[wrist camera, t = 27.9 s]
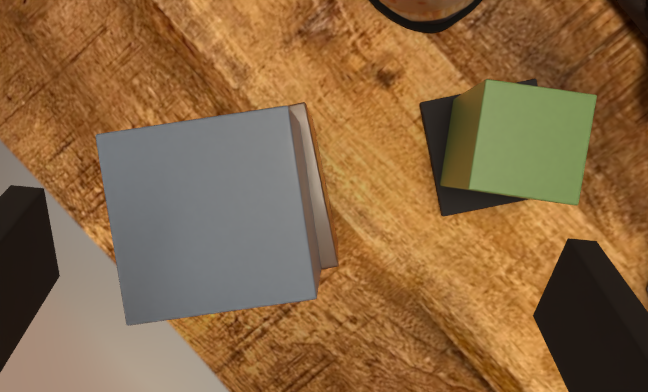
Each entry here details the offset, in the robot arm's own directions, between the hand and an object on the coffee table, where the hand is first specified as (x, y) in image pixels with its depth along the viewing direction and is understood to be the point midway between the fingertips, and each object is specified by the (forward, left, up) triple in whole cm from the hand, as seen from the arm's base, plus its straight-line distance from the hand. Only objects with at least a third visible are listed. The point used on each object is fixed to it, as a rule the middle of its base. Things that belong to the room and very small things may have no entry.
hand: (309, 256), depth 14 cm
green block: (-1, +12, -23) cm, 26 cm away
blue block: (-1, -4, -15) cm, 16 cm away
